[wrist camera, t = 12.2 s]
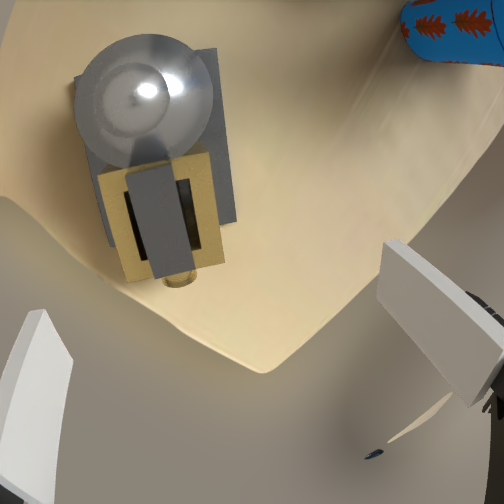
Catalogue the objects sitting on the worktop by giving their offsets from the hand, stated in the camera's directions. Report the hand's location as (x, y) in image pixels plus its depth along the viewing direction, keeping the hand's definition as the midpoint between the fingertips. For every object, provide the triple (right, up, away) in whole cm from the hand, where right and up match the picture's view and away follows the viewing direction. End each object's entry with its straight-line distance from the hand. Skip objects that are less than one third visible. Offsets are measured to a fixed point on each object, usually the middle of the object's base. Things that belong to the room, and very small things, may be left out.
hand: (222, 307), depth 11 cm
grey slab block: (-9, +8, +24) cm, 27 cm away
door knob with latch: (-10, +13, +23) cm, 29 cm away
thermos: (+27, +35, +23) cm, 50 cm away
